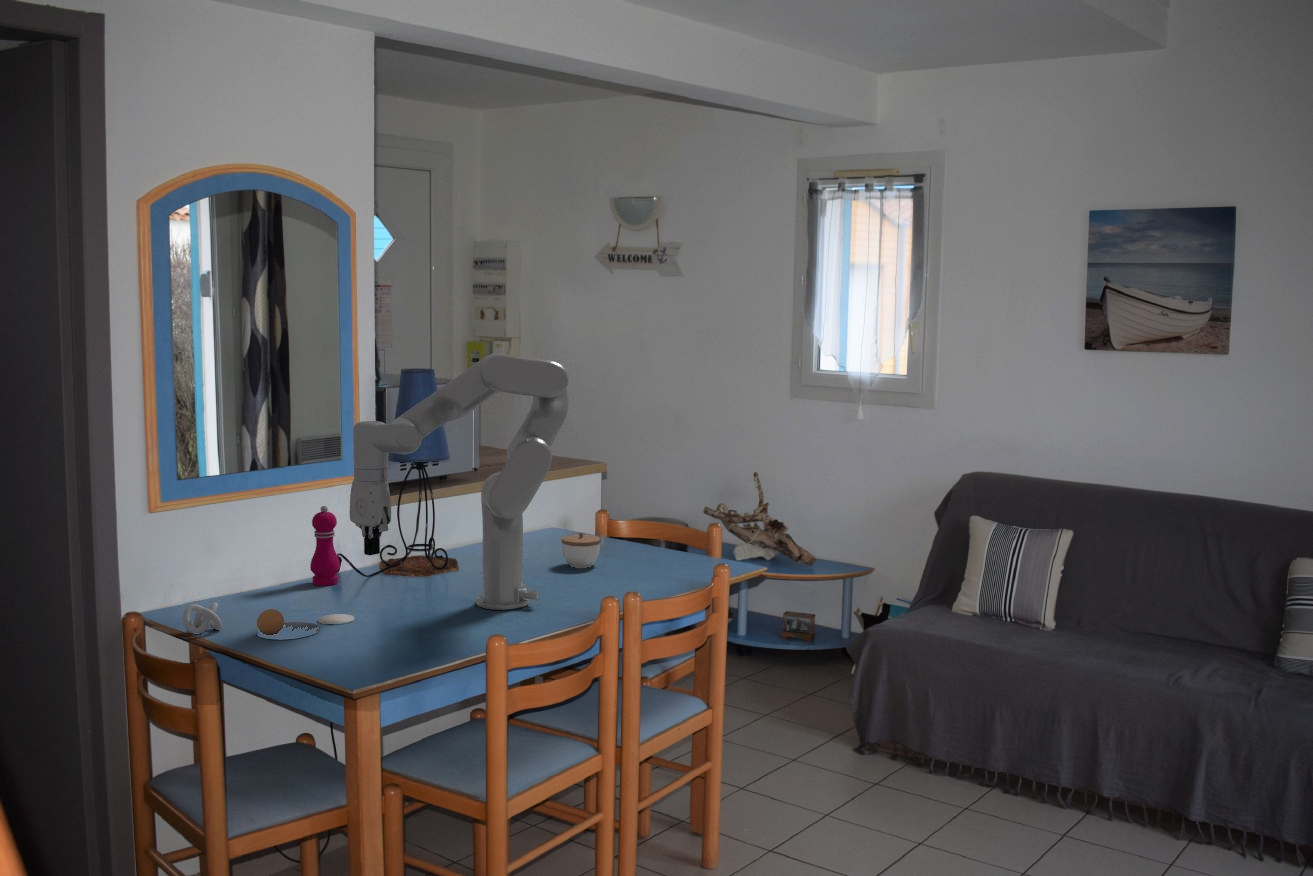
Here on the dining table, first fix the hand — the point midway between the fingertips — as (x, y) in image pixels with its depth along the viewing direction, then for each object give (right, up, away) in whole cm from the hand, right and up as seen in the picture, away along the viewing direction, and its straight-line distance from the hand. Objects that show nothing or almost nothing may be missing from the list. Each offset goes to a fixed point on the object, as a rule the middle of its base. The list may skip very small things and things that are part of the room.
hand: (372, 554), depth 250 cm
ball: (-17, -13, -18) cm, 28 cm away
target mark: (-14, -15, -16) cm, 26 cm away
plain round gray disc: (-6, -14, -6) cm, 17 cm away
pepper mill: (-19, -10, +26) cm, 34 cm away
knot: (-32, -15, -16) cm, 39 cm away
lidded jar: (+45, -9, +50) cm, 68 cm away
